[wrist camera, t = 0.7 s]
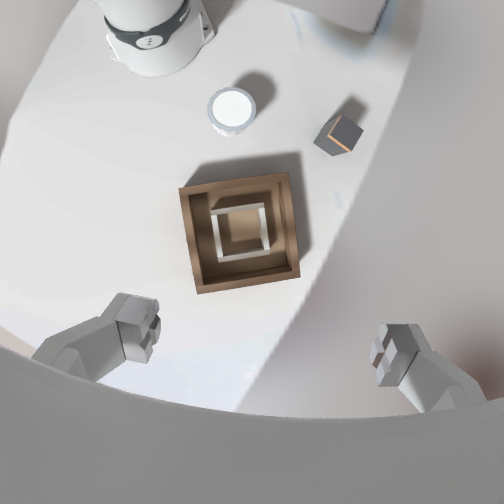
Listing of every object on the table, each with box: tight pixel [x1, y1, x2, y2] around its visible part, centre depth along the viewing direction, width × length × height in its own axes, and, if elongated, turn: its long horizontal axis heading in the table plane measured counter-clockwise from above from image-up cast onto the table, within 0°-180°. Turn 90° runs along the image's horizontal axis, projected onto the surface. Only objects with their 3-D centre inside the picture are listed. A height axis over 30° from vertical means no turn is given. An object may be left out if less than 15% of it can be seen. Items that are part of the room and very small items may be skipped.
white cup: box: [207, 87, 256, 136], centre depth 42 cm, size 7×7×7 cm
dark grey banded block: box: [313, 114, 364, 156], centre depth 44 cm, size 4×4×8 cm
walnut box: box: [178, 172, 300, 294], centre depth 46 cm, size 16×16×5 cm
